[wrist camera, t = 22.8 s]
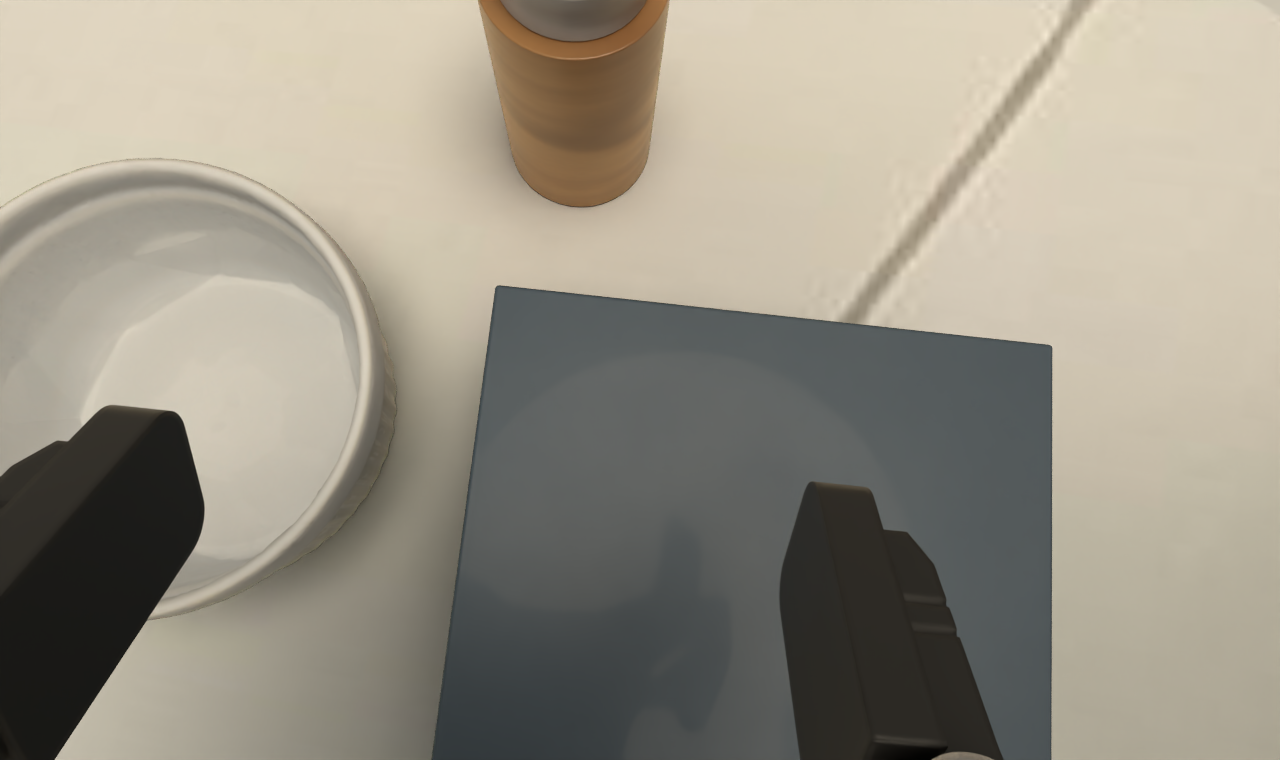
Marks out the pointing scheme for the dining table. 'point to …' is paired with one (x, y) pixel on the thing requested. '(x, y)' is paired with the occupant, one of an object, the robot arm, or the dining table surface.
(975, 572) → the cabinet
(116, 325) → the ramekin
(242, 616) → the dining table surface
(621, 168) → the pepper mill
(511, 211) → the dining table surface
